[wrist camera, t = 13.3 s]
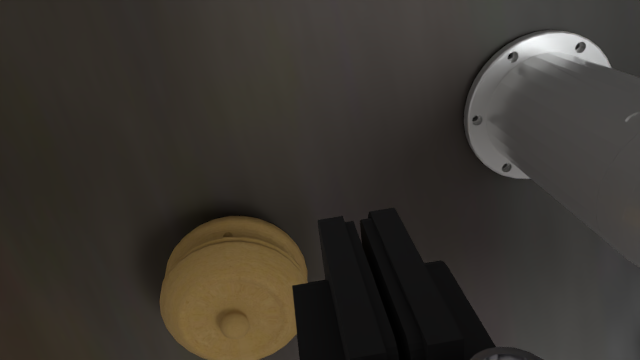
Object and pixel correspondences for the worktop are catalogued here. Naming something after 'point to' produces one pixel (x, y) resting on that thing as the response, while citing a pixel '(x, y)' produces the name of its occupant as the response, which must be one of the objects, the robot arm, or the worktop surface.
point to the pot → (232, 289)
